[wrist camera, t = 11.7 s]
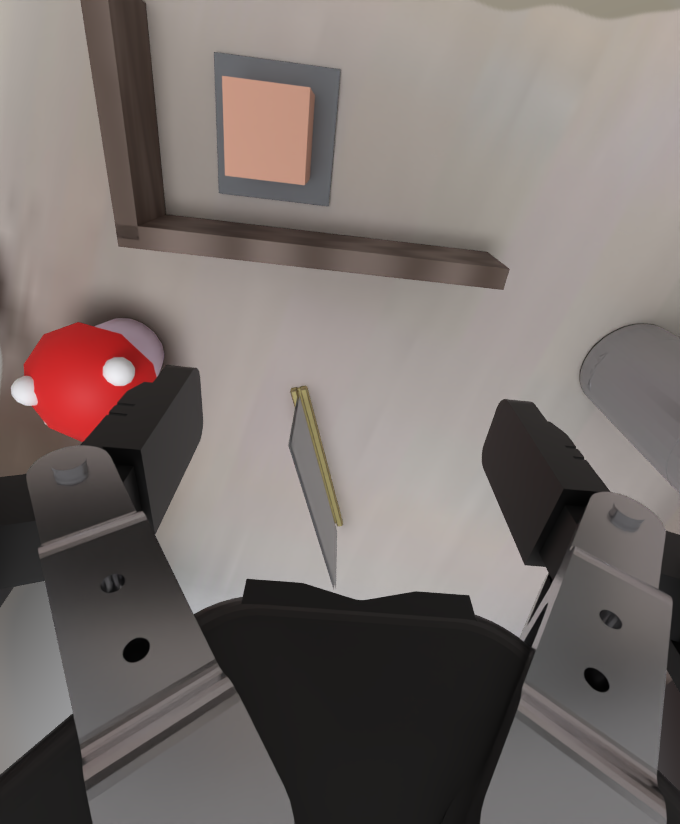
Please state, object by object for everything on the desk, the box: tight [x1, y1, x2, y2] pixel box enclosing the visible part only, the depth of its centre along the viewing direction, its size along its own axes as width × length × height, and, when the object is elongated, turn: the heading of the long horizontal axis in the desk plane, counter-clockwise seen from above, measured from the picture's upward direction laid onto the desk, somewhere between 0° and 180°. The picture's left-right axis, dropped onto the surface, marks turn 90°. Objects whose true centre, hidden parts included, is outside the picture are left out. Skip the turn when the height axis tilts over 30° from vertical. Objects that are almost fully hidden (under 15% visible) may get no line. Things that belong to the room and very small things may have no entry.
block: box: [222, 76, 315, 185], centre depth 31 cm, size 6×6×6 cm
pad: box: [214, 52, 340, 206], centre depth 33 cm, size 9×9×1 cm
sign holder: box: [289, 386, 343, 589], centre depth 47 cm, size 21×2×10 cm, turn 11°
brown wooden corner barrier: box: [81, 0, 510, 290], centre depth 32 cm, size 30×15×6 cm, turn 84°
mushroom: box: [11, 318, 164, 442], centre depth 38 cm, size 11×11×12 cm
